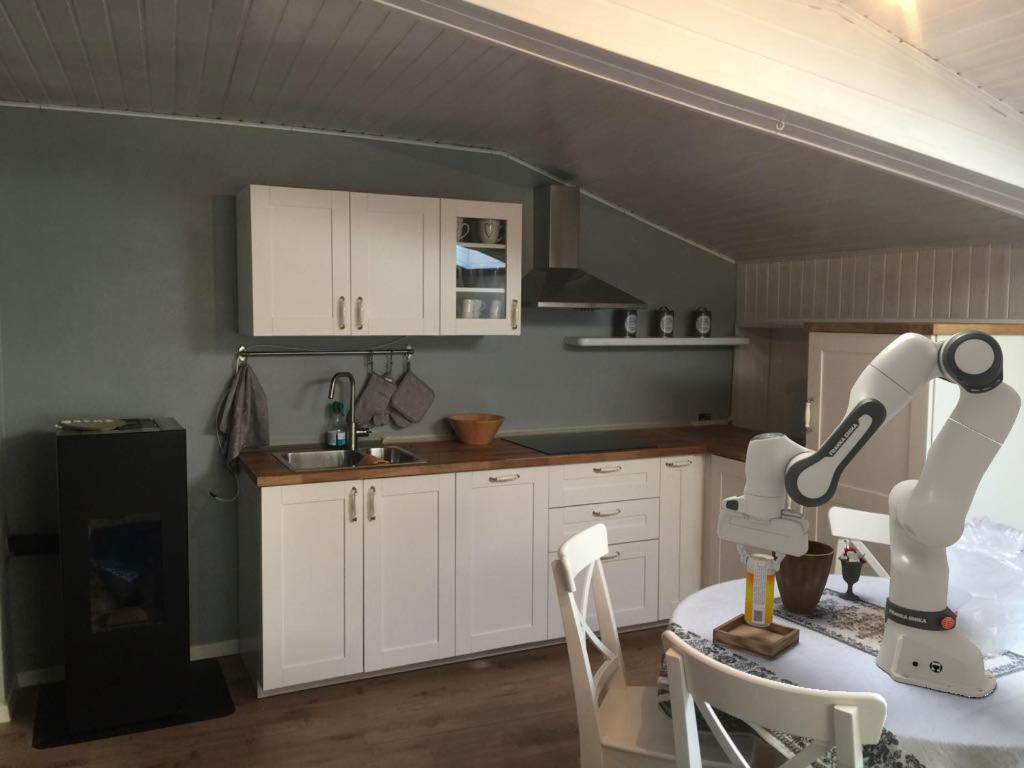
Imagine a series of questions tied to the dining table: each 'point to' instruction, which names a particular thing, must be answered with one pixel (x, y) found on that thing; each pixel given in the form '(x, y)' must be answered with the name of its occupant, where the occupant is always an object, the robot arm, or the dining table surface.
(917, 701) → the dining table surface
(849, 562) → the sundae
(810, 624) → the dining table surface
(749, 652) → the walnut tray
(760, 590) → the beer can
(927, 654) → the robot arm
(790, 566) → the plant pot
